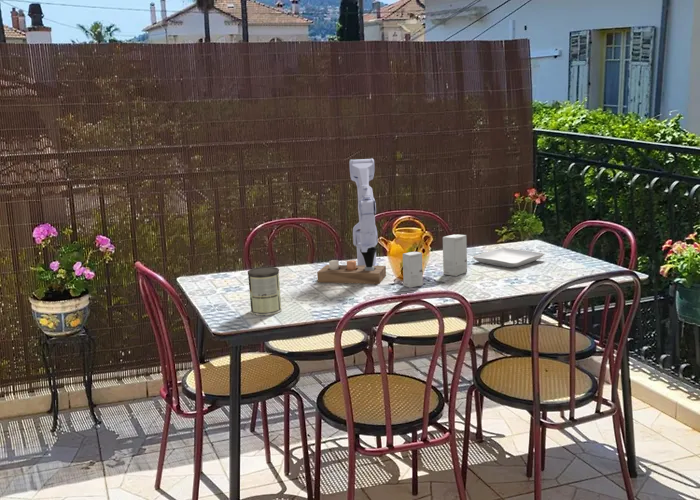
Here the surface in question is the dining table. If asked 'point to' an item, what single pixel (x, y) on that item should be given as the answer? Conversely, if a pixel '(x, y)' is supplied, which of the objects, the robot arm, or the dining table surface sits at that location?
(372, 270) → the slate plunger
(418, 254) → the skincare box
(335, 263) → the cream plunger
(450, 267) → the skincare box
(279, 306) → the coffee can
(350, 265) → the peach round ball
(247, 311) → the dining table surface
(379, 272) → the walnut button box
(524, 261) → the salad plate
